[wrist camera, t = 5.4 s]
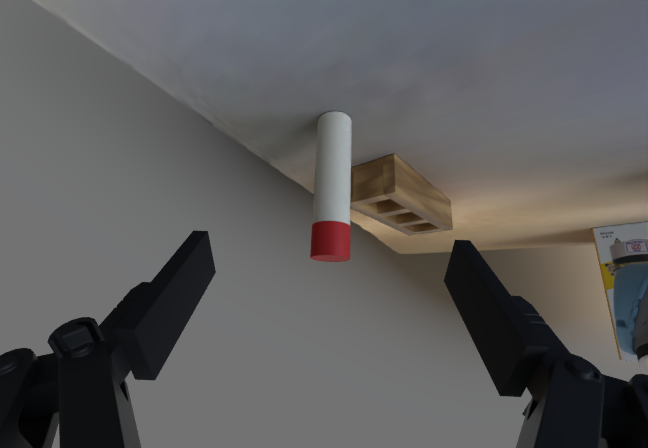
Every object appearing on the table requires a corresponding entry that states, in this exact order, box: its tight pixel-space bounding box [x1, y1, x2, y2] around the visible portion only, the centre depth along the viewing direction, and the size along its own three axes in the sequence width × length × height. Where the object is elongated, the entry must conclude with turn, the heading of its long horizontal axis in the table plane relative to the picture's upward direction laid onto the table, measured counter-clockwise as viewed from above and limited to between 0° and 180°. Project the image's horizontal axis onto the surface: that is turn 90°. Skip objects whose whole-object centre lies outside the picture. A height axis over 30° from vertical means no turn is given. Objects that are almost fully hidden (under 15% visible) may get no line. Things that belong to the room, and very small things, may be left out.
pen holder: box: [350, 154, 453, 235], centre depth 45 cm, size 8×20×5 cm, turn 41°
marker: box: [310, 111, 352, 262], centre depth 28 cm, size 4×4×14 cm
